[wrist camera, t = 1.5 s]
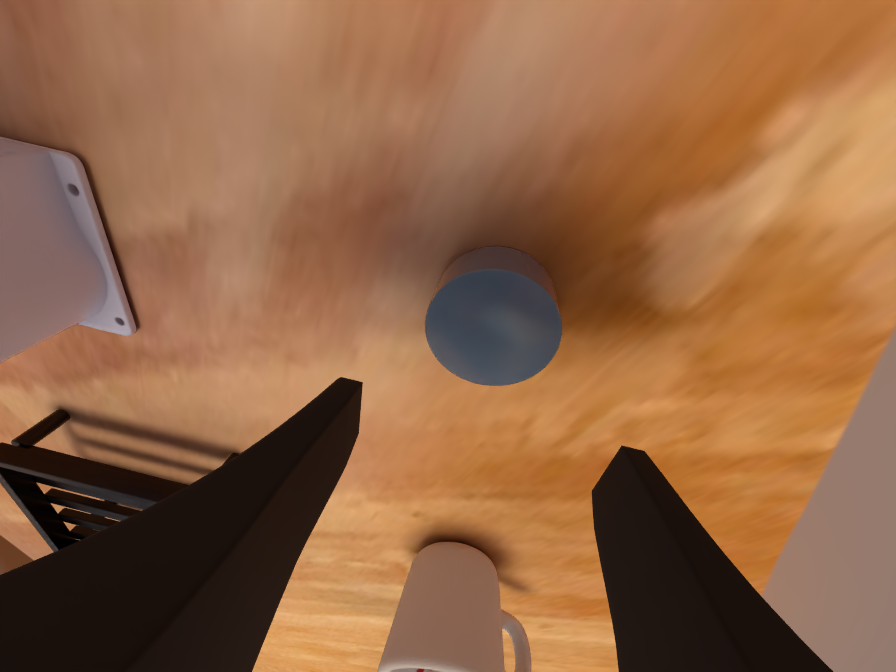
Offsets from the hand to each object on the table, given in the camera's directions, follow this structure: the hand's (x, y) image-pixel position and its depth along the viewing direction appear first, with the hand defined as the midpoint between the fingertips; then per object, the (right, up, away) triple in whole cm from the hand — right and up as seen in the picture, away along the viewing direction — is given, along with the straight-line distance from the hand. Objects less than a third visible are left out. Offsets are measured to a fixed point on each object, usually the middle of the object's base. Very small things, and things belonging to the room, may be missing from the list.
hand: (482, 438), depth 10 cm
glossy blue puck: (+1, +4, +7) cm, 8 cm away
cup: (+1, -15, +20) cm, 25 cm away
